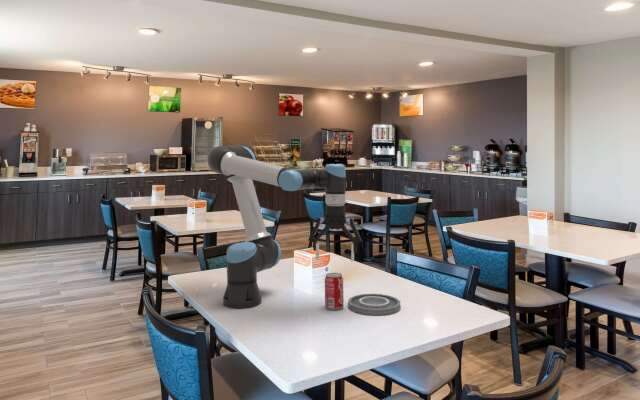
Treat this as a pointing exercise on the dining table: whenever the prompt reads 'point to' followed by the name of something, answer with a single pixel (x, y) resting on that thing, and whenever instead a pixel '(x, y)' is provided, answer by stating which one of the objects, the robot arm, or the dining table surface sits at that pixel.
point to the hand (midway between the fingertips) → (334, 260)
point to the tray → (374, 304)
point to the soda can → (334, 291)
